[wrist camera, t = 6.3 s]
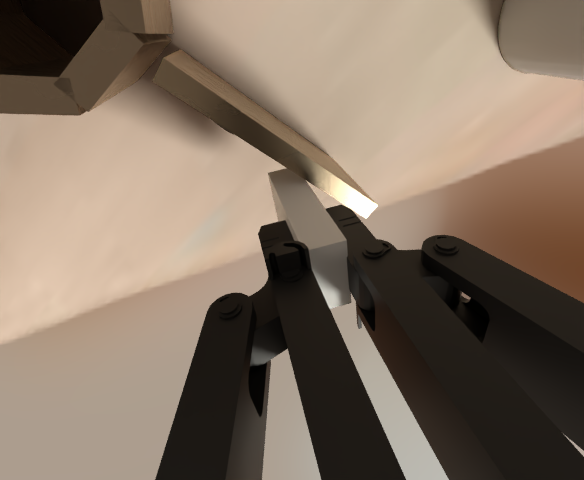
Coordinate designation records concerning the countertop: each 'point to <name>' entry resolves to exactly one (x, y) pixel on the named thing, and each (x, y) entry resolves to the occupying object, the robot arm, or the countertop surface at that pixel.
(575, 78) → the bottle
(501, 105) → the countertop surface
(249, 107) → the loose leaf
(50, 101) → the knuckle and fixed leaf
